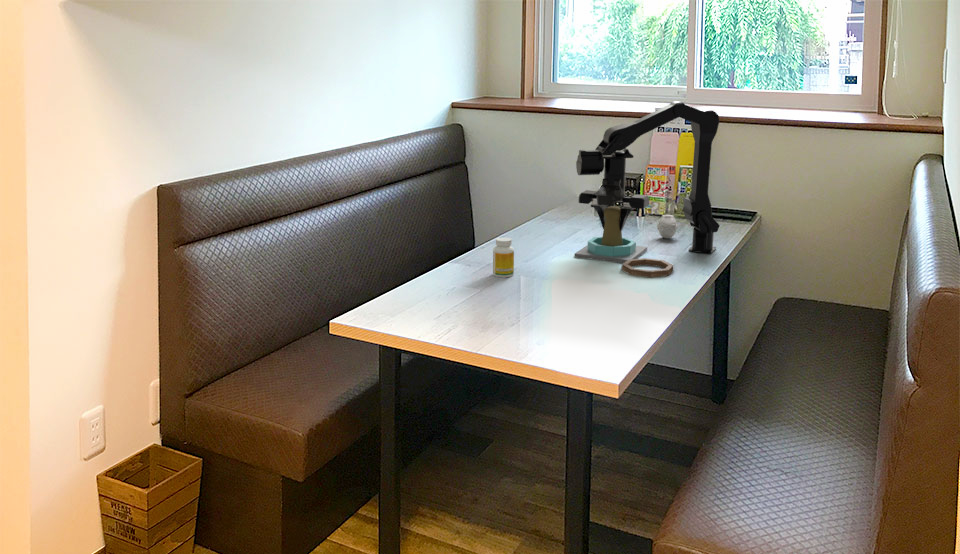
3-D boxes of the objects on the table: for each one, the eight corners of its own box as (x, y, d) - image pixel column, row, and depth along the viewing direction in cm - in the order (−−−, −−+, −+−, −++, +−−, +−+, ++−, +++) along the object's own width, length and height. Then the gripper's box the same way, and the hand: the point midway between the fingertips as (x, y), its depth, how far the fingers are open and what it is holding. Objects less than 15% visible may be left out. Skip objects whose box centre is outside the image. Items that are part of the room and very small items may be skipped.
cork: (622, 248, 248) (623, 209, 245) (600, 247, 250) (601, 208, 246) (623, 243, 254) (624, 205, 251) (601, 242, 255) (603, 204, 252)
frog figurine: (675, 235, 273) (677, 213, 271) (678, 241, 266) (679, 218, 265) (655, 235, 274) (656, 212, 272) (657, 240, 267) (658, 217, 265)
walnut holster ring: (631, 261, 244) (632, 256, 244) (676, 267, 239) (677, 261, 238) (617, 273, 234) (617, 267, 233) (664, 279, 228) (664, 273, 228)
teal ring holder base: (593, 244, 263) (594, 232, 262) (647, 250, 256) (647, 238, 255) (574, 257, 249) (574, 244, 248) (630, 263, 242) (630, 251, 241)
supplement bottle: (489, 273, 233) (489, 237, 231) (507, 271, 235) (508, 235, 233) (498, 279, 229) (499, 242, 226) (517, 276, 231) (517, 240, 228)
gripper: (572, 176, 243) (570, 232, 248) (638, 181, 235) (636, 239, 240) (586, 170, 253) (584, 224, 257) (651, 174, 245) (648, 230, 249)
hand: (612, 229), depth 251 cm, fingers closed on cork, 4 cm apart
